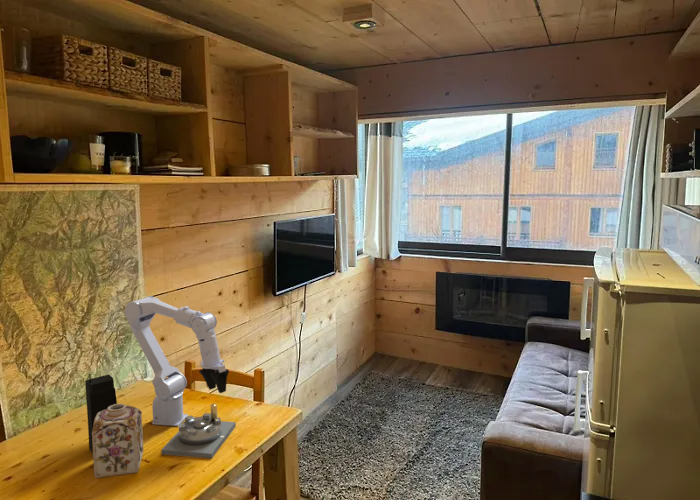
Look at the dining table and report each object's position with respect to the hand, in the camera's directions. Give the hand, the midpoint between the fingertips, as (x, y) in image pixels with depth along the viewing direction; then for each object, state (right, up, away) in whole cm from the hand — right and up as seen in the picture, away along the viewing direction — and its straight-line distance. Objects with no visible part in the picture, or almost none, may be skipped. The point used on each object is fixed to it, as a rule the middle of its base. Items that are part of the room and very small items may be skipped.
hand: (217, 390), depth 166 cm
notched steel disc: (-4, -13, -5) cm, 14 cm away
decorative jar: (-23, -17, -19) cm, 34 cm away
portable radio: (-32, -15, -10) cm, 37 cm away
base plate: (-4, -15, -5) cm, 16 cm away
